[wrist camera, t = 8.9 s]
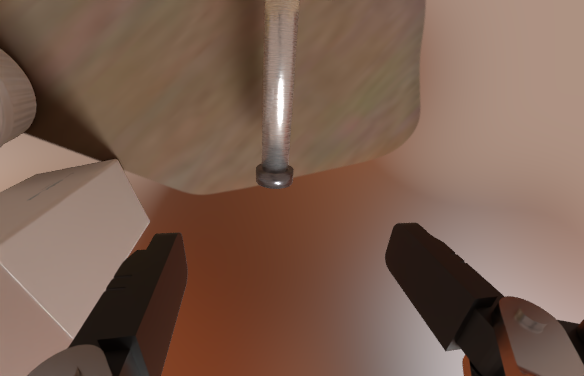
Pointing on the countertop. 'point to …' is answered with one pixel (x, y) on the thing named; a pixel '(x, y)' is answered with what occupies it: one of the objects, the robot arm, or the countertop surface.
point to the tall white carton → (60, 256)
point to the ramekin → (14, 100)
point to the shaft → (278, 92)
